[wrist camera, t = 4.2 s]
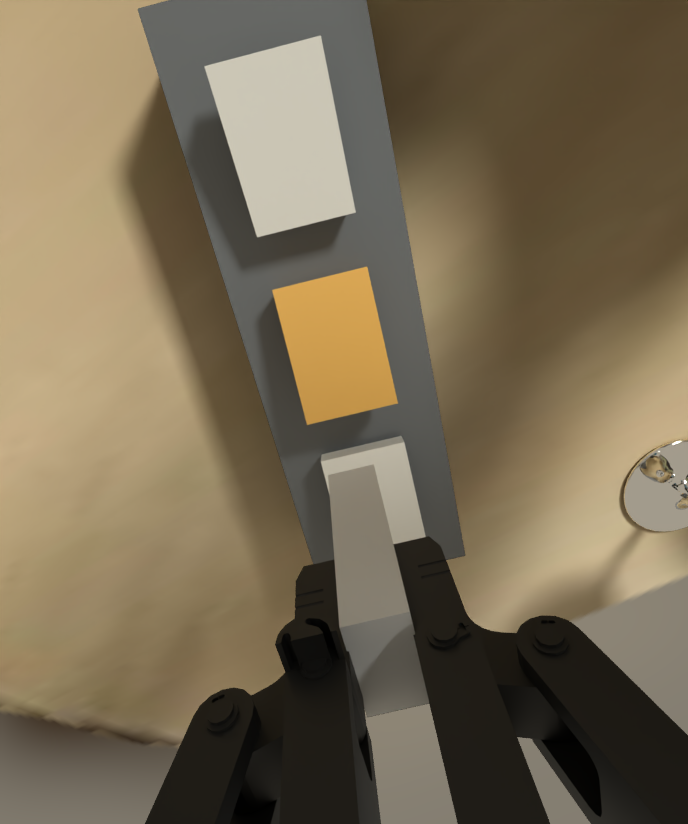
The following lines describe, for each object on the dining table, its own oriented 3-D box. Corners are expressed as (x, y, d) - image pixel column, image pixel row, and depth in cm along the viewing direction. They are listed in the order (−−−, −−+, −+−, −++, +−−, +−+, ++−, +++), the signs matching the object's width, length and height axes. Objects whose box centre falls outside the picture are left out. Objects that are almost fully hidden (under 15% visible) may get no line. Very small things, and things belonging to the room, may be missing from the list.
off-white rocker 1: (208, 65, 21) (204, 66, 20) (318, 35, 21) (320, 35, 20) (258, 228, 25) (257, 237, 23) (352, 204, 24) (355, 212, 23)
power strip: (124, -105, 25) (59, -207, 18) (317, -159, 24) (320, -282, 18) (317, 531, 39) (318, 599, 32) (443, 502, 38) (469, 565, 32)
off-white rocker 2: (321, 454, 29) (320, 461, 28) (401, 435, 29) (404, 442, 28) (349, 561, 30) (349, 573, 29) (425, 544, 30) (429, 555, 29)
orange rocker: (275, 290, 26) (272, 289, 24) (365, 268, 26) (367, 266, 24) (308, 419, 27) (307, 424, 25) (395, 398, 27) (398, 403, 25)
